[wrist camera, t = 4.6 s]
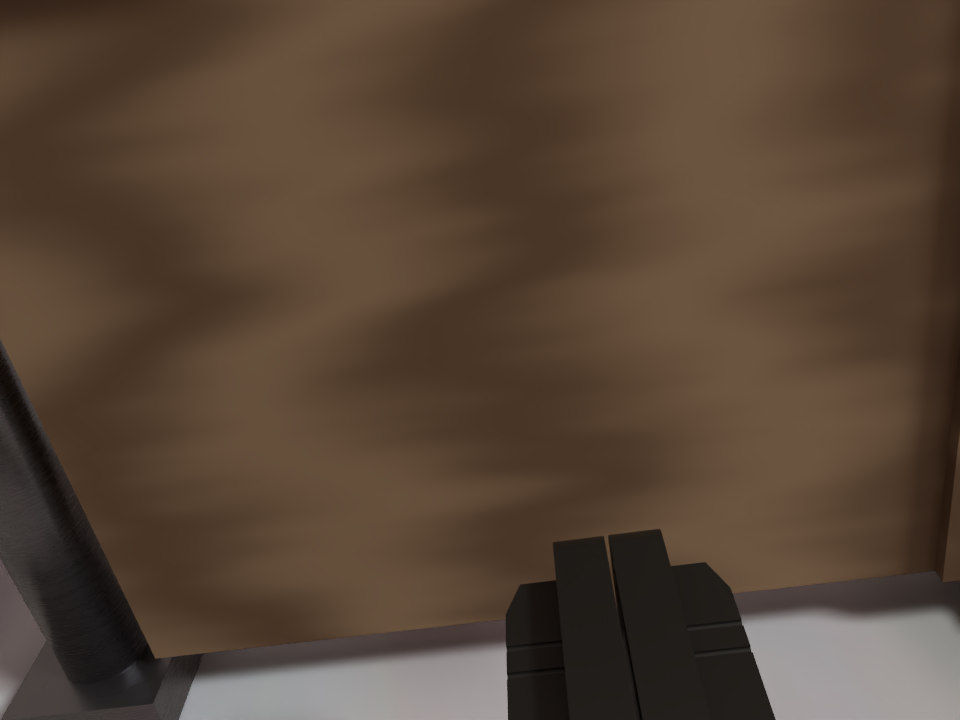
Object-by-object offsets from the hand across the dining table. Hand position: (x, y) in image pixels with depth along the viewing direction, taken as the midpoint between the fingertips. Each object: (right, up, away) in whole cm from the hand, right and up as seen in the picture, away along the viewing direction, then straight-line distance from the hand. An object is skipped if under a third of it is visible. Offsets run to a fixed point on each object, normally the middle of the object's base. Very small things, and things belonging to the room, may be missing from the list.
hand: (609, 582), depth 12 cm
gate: (0, -2, +8) cm, 8 cm away
